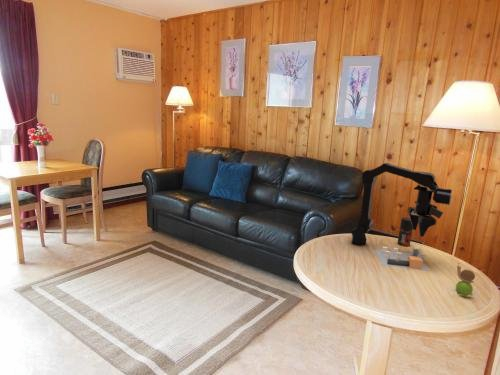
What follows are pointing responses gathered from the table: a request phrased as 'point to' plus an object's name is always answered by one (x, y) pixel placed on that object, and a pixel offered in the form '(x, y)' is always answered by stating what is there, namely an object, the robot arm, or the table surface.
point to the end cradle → (417, 253)
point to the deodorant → (405, 232)
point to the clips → (395, 252)
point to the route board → (403, 257)
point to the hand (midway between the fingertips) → (417, 233)
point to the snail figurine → (465, 281)
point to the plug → (408, 262)
